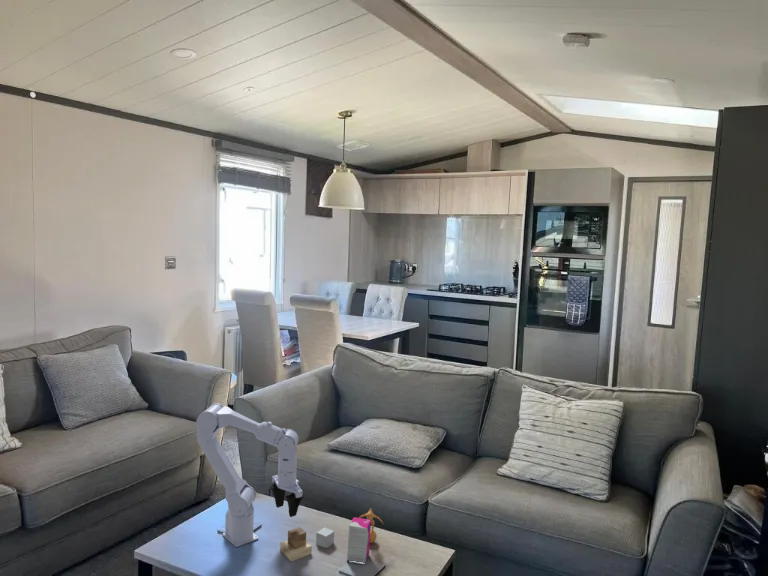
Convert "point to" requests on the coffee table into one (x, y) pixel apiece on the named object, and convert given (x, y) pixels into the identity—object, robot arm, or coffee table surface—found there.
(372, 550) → the coffee table surface
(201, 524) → the coffee table surface
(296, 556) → the beech slab
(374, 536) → the figurine
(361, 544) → the supplement box
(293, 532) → the walnut cube
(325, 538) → the grey cube
